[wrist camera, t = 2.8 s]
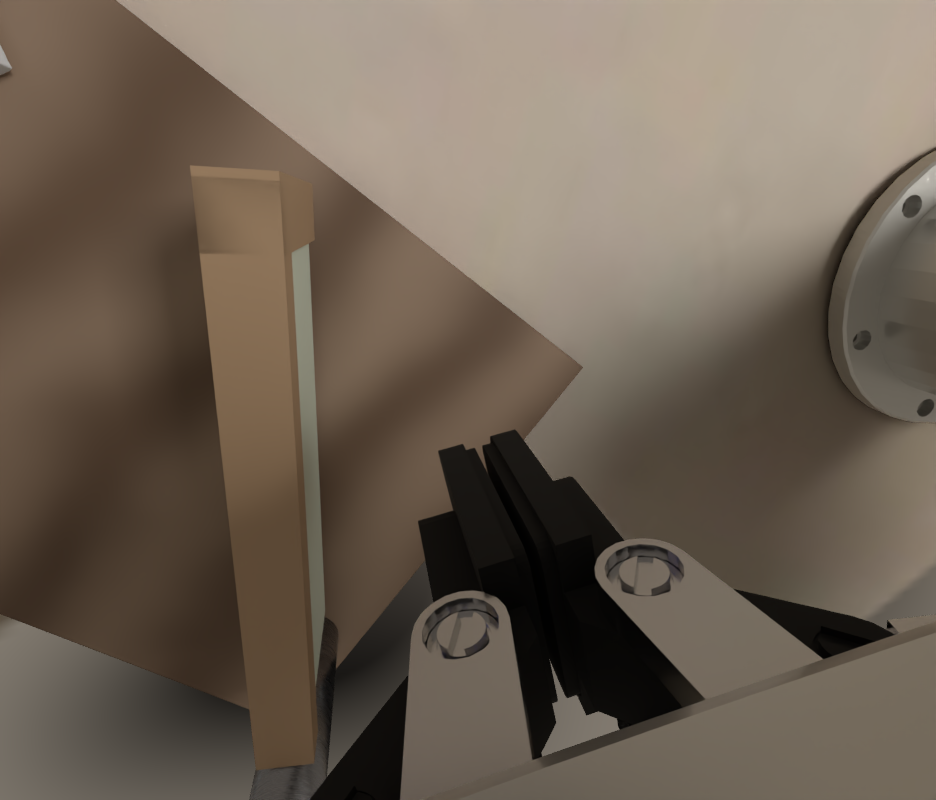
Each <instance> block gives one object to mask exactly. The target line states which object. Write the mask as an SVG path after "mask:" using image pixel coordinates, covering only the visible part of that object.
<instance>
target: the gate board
mask: <svg viewBox="0 0 936 800" xmlns="http://www.w3.org/2000/svg"><path fill="white" fill-rule="evenodd" d="M0 45H1V47H2V49H3V51H4V53H5V55H6V58H7V60H8V62H9V64H10V65H11V67H12V69H11V70H10V71H9V72H6V73H4V74H2V75H0V614H2V615H4V616H7V617H10V618H12V619H15V620H18V621H20V622H23V623H26V624H28V625H31V626H33V627H36V628H38V629H41V630H44V631H46V632H49V633H51V634H54V635H57V636H59V637H62V638H64V639H67V640H70V641H72V642H75V643H78V644H80V645H83V646H85V647H88V648H91V649H93V650H96V651H99V652H101V653H104V654H107V655H109V656H112V657H114V658H117V659H119V660H122V661H125V662H127V663H130V664H132V665H135V666H138V667H140V668H143V669H145V670H148V671H151V672H153V673H156V674H159V675H161V676H164V677H166V678H169V679H172V680H174V681H177V682H179V683H182V684H185V685H187V686H190V687H192V688H195V689H198V690H200V691H203V692H206V693H208V694H211V695H213V696H216V697H218V698H221V699H224V700H226V701H229V702H232V703H234V704H237V705H239V706H242V707H245V708H247V709H249V701H248V692H247V683H246V674H245V665H244V656H243V646H242V637H241V628H240V619H239V610H238V601H237V592H236V582H235V573H234V564H233V555H232V546H231V537H230V527H229V518H228V509H227V500H226V491H225V482H224V473H223V463H222V454H221V445H220V436H219V427H218V418H217V409H216V399H215V390H214V381H213V372H212V363H211V354H210V344H209V335H208V326H207V317H206V308H205V299H204V290H203V280H202V271H201V262H200V253H199V244H198V235H197V225H196V216H195V207H194V198H193V189H192V180H191V171H190V165H192V166H207V167H223V168H239V169H255V170H271V171H280V172H283V173H285V174H288V175H291V176H293V177H296V178H298V179H301V180H303V181H306V182H309V183H311V184H312V187H313V211H314V236H315V240H314V241H312V242H311V243H309V259H310V281H311V304H312V326H313V348H314V371H315V393H316V416H317V438H318V461H319V483H320V506H321V528H322V550H323V573H324V595H325V616H324V617H326V618H328V619H330V620H331V621H332V622H333V623H334V624H335V625H336V627H337V629H338V632H339V639H338V651H337V662H336V669H337V667H338V666H339V665H340V664H341V662H342V661H343V660H344V659H345V658H346V656H347V655H348V654H349V653H350V651H351V650H352V649H353V648H354V647H355V645H356V644H357V643H358V642H359V640H360V639H361V638H362V637H363V636H364V634H365V633H366V632H367V631H368V629H369V628H370V627H371V626H372V625H373V623H374V622H375V621H376V620H377V618H378V617H379V616H380V615H381V614H382V612H383V611H384V610H385V609H386V607H387V606H388V605H389V604H390V603H391V601H392V600H393V599H394V598H395V596H396V595H397V594H398V593H399V591H400V590H401V589H402V588H403V587H404V585H405V584H406V583H407V582H408V581H409V579H410V578H411V577H412V576H413V574H414V573H415V572H416V571H417V570H418V568H419V567H420V566H421V565H422V563H423V562H424V561H425V556H424V551H423V546H422V540H421V535H420V530H419V525H418V521H419V520H422V519H426V518H429V517H433V516H436V515H439V514H443V513H446V512H450V511H453V508H452V504H451V500H450V497H449V493H448V489H447V485H446V481H445V477H444V473H443V469H442V466H441V462H440V458H439V454H438V451H439V450H442V449H446V448H450V447H453V446H457V445H460V444H463V445H464V447H465V449H466V450H468V449H471V448H475V449H476V451H477V453H478V455H479V457H480V459H481V461H482V463H483V465H484V467H485V469H486V471H487V468H486V463H485V459H484V454H483V449H482V445H486V444H489V443H490V436H493V435H496V434H500V433H503V432H507V431H511V430H514V429H515V430H516V431H517V432H518V433H519V435H520V436H521V437H522V439H523V440H524V439H525V438H526V436H527V435H528V434H529V433H530V431H531V430H532V429H533V428H534V427H535V425H536V424H537V423H538V422H539V420H540V419H541V418H542V417H543V416H544V414H545V413H546V412H547V411H548V409H549V408H550V407H551V406H552V405H553V403H554V402H555V401H556V400H557V398H558V397H559V396H560V395H561V394H562V392H563V391H564V390H565V389H566V387H567V386H568V385H569V384H570V383H571V381H572V380H573V379H574V378H575V376H576V375H577V374H578V373H579V372H580V370H581V369H582V368H583V367H582V366H581V365H580V364H578V363H577V362H576V361H574V360H573V359H572V358H571V357H569V356H568V355H567V354H566V353H564V352H563V351H562V350H560V349H559V348H558V347H557V346H555V345H554V344H553V343H552V342H550V341H549V340H548V339H546V338H545V337H544V336H543V335H541V334H540V333H539V332H538V331H536V330H535V329H534V328H532V327H531V326H530V325H529V324H527V323H526V322H525V321H524V320H522V319H521V318H520V317H518V316H517V315H516V314H515V313H513V312H512V311H511V310H510V309H508V308H507V307H506V306H504V305H503V304H502V303H501V302H499V301H498V300H497V299H495V298H494V297H493V296H492V295H490V294H489V293H488V292H487V291H485V290H484V289H483V288H481V287H480V286H479V285H478V284H476V283H475V282H474V281H473V280H471V279H470V278H469V277H467V276H466V275H465V274H464V273H462V272H461V271H460V270H459V269H457V268H456V267H455V266H453V265H452V264H451V263H450V262H448V261H447V260H446V259H445V258H443V257H442V256H441V255H439V254H438V253H437V252H436V251H434V250H433V249H432V248H431V247H429V246H428V245H427V244H425V243H424V242H423V241H422V240H420V239H419V238H418V237H417V236H415V235H414V234H413V233H411V232H410V231H409V230H408V229H406V228H405V227H404V226H403V225H401V224H400V223H399V222H397V221H396V220H395V219H394V218H392V217H391V216H390V215H389V214H387V213H386V212H385V211H383V210H382V209H381V208H380V207H378V206H377V205H376V204H374V203H373V202H372V201H371V200H369V199H368V198H367V197H366V196H364V195H363V194H362V193H360V192H359V191H358V190H357V189H355V188H354V187H353V186H352V185H350V184H349V183H348V182H346V181H345V180H344V179H343V178H341V177H340V176H339V175H338V174H336V173H335V172H334V171H332V170H331V169H330V168H329V167H327V166H326V165H325V164H324V163H322V162H321V161H320V160H318V159H317V158H316V157H315V156H313V155H312V154H311V153H310V152H308V151H307V150H306V149H304V148H303V147H302V146H301V145H299V144H298V143H297V142H296V141H294V140H293V139H292V138H290V137H289V136H288V135H287V134H285V133H284V132H283V131H282V130H280V129H279V128H278V127H276V126H275V125H274V124H273V123H271V122H270V121H269V120H268V119H266V118H265V117H264V116H262V115H261V114H260V113H259V112H257V111H256V110H255V109H254V108H252V107H251V106H250V105H248V104H247V103H246V102H245V101H243V100H242V99H241V98H239V97H238V96H237V95H236V94H234V93H233V92H232V91H231V90H229V89H228V88H227V87H225V86H224V85H223V84H222V83H220V82H219V81H218V80H217V79H215V78H214V77H213V76H211V75H210V74H209V73H208V72H206V71H205V70H204V69H203V68H201V67H200V66H199V65H197V64H196V63H195V62H194V61H192V60H191V59H190V58H189V57H187V56H186V55H185V54H183V53H182V52H181V51H180V50H178V49H177V48H176V47H175V46H173V45H172V44H171V43H169V42H168V41H167V40H166V39H164V38H163V37H162V36H161V35H159V34H158V33H157V32H155V31H154V30H153V29H152V28H150V27H149V26H148V25H147V24H145V23H144V22H143V21H141V20H140V19H139V18H138V17H136V16H135V15H134V14H133V13H131V12H130V11H129V10H127V9H126V8H125V7H124V6H122V5H121V4H120V3H118V2H117V1H116V0H0ZM487 473H488V472H487Z"/></svg>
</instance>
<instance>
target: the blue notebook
mask: <svg viewBox="0 0 936 800" xmlns="http://www.w3.org/2000/svg"><path fill="white" fill-rule="evenodd" d="M11 69H12V67H11V65H10V64H9V62H8V60H7V58H6V55H5V53H4V51H3V49H2V47H1V45H0V75H2V74H4V73H6V72H9V71H10V70H11Z"/></svg>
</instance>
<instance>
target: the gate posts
mask: <svg viewBox="0 0 936 800" xmlns="http://www.w3.org/2000/svg"><path fill="white" fill-rule="evenodd" d="M338 639H339V632H338V629H337V627H336V625H335V624H334V623H333V622H332V621H331V620H330V619H328V618H326V617H324V624H323V632H322V640H321V649H320V657H319V665H318V673H317V681H316V705H317V723H318V734H317V743H316V752H315V761H314V764H306V765H297V766H288V767H280V768H271V769H262V770H256V771H255V775H254V780H253V785H252V789H251V794H250V799H249V800H309V799H310V798H311V797H312V796H313V794H314V793H315V792H316V790H317V789H318V788H319V787H320V785H321V784H322V783H323V782H324V780H325V779H326V778H327V768H328V756H329V745H330V732H331V720H332V708H333V698H334V686H335V674H336V662H337V651H338Z"/></svg>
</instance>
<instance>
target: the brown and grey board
mask: <svg viewBox="0 0 936 800" xmlns="http://www.w3.org/2000/svg"><path fill="white" fill-rule="evenodd" d="M190 171H191V180H192V189H193V198H194V207H195V216H196V225H197V235H198V244H199V253H200V262H201V271H202V280H203V290H204V299H205V308H206V317H207V326H208V335H209V344H210V354H211V363H212V372H213V381H214V390H215V399H216V409H217V418H218V427H219V436H220V445H221V454H222V463H223V473H224V482H225V491H226V500H227V509H228V518H229V527H230V537H231V546H232V555H233V564H234V573H235V582H236V592H237V601H238V610H239V619H240V628H241V637H242V646H243V656H244V665H245V674H246V683H247V692H248V701H249V710H250V720H251V728H252V738H253V747H254V756H255V764H256V770H262V769H271V768H280V767H288V766H297V765H306V764H314V761H315V752H316V743H317V734H318V723H317V705H316V681H317V673H318V665H319V657H320V649H321V640H322V632H323V624H324V616H325V595H324V573H323V550H322V528H321V506H320V483H319V461H318V438H317V416H316V393H315V371H314V348H313V326H312V304H311V281H310V259H309V243H311V242H312V241H314V240H315V236H314V211H313V187H312V184H311V183H309V182H306V181H303V180H301V179H298V178H296V177H293V176H291V175H288V174H285V173H283V172H280V171H271V170H255V169H239V168H223V167H207V166H192V165H190Z"/></svg>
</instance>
